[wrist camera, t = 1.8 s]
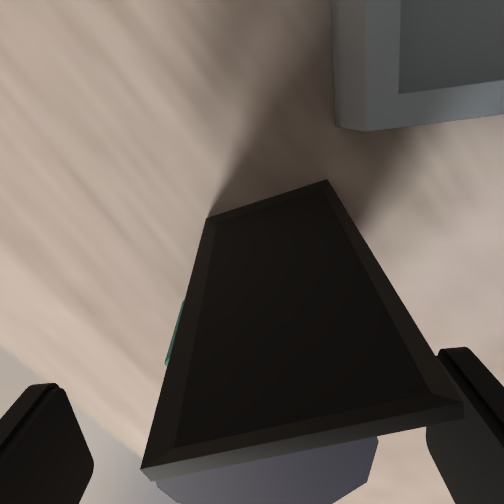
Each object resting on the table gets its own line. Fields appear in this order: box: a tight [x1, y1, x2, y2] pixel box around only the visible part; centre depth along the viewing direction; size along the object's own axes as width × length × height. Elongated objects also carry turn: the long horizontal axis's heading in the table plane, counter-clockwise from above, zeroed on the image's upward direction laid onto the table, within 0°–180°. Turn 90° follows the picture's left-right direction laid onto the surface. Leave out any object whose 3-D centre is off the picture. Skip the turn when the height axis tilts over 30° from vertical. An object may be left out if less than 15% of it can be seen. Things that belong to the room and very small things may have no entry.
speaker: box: [140, 180, 465, 504], centre depth 11 cm, size 8×6×10 cm
